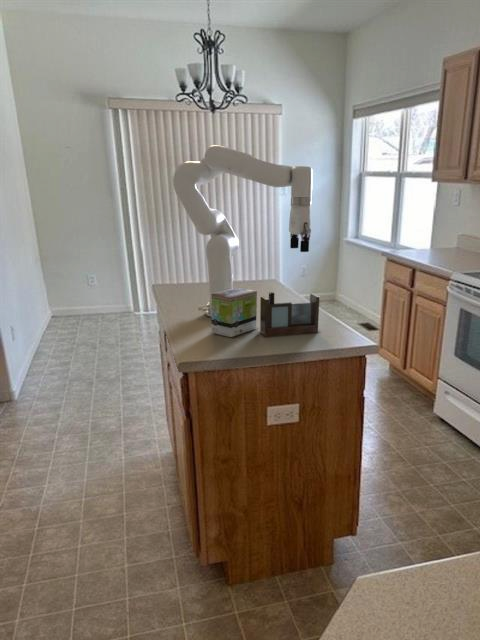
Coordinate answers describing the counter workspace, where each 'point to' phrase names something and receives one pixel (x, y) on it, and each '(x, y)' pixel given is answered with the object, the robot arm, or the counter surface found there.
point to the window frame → (301, 318)
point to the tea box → (234, 311)
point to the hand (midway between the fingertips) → (299, 249)
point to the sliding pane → (279, 313)
